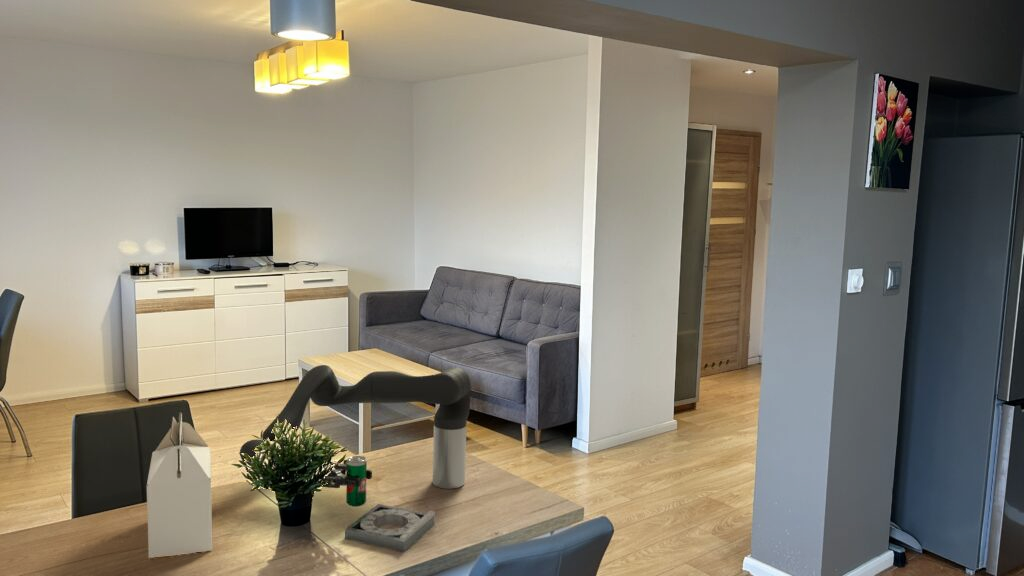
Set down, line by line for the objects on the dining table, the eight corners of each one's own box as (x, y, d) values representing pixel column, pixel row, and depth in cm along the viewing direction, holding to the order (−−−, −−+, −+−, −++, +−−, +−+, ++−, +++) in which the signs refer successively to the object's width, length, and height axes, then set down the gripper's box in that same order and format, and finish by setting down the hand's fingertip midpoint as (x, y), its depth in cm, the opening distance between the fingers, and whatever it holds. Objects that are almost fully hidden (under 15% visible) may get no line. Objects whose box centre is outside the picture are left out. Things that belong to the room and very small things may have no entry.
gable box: (154, 518, 195) (151, 409, 191) (211, 512, 200) (209, 406, 196) (148, 560, 175) (145, 439, 171) (212, 552, 179) (210, 434, 175)
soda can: (361, 508, 198) (362, 463, 197) (343, 506, 199) (343, 461, 198) (369, 500, 203) (369, 456, 202) (350, 498, 204) (351, 454, 203)
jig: (378, 513, 203) (378, 500, 203) (434, 524, 198) (434, 511, 197) (344, 538, 188) (344, 525, 188) (404, 552, 183) (404, 537, 182)
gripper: (292, 463, 198) (350, 474, 192) (324, 446, 211) (380, 455, 206) (292, 492, 199) (350, 503, 193) (324, 472, 212) (379, 483, 207)
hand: (365, 478), depth 200 cm, fingers closed on soda can, 5 cm apart
